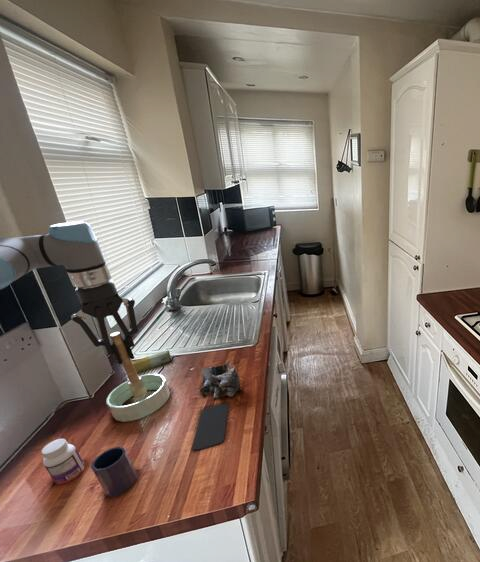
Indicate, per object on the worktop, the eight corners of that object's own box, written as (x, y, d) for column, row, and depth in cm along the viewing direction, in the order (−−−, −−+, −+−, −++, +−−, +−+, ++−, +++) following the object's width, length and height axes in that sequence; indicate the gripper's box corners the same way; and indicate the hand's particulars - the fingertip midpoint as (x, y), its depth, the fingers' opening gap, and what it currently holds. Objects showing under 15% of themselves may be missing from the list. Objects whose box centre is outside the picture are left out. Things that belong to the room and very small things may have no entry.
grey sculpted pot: (240, 359, 107) (235, 360, 94) (243, 391, 106) (239, 396, 92) (202, 366, 103) (192, 368, 90) (206, 399, 102) (195, 407, 88)
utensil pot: (99, 500, 67) (83, 472, 64) (118, 474, 73) (104, 447, 69) (127, 498, 67) (112, 469, 64) (144, 472, 73) (131, 445, 69)
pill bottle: (63, 469, 74) (45, 440, 71) (90, 461, 76) (74, 432, 72) (50, 490, 70) (30, 460, 66) (79, 481, 71) (62, 451, 68)
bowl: (101, 425, 86) (93, 409, 84) (134, 390, 99) (127, 375, 97) (153, 421, 87) (147, 405, 85) (179, 386, 100) (174, 372, 98)
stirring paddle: (136, 401, 90) (108, 337, 82) (133, 397, 92) (106, 335, 83) (148, 395, 93) (123, 332, 84) (146, 391, 94) (121, 330, 86)
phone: (228, 402, 92) (224, 442, 79) (229, 404, 92) (224, 444, 79) (201, 409, 90) (191, 451, 77) (202, 411, 90) (192, 453, 77)
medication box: (171, 359, 115) (168, 349, 114) (172, 361, 113) (169, 352, 111) (132, 372, 108) (128, 362, 107) (132, 375, 106) (128, 365, 104)
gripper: (54, 297, 70) (94, 379, 79) (133, 277, 81) (160, 351, 90) (50, 289, 75) (88, 368, 84) (126, 271, 86) (152, 343, 95)
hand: (125, 359), depth 87 cm, fingers closed on stirring paddle, 2 cm apart
